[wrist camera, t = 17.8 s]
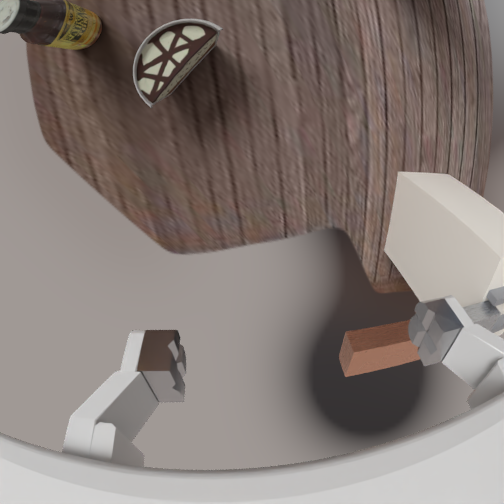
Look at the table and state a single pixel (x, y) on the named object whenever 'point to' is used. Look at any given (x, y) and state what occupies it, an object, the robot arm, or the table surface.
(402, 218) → the stand
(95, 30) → the sauce bottle
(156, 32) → the half round cake
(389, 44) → the table surface
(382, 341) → the knife
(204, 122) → the table surface
